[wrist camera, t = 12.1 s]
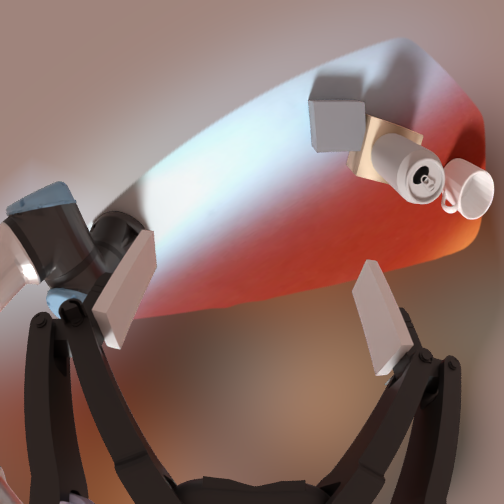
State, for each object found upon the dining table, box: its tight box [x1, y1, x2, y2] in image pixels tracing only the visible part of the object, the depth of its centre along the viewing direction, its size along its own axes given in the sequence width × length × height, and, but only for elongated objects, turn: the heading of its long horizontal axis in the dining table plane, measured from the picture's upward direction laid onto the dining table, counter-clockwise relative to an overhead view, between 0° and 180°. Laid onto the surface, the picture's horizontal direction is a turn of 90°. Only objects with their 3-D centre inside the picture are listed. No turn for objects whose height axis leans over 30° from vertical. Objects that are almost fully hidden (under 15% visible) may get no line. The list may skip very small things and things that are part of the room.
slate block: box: [308, 100, 366, 153], centre depth 38 cm, size 8×8×5 cm
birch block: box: [346, 114, 423, 184], centre depth 39 cm, size 10×10×6 cm
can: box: [371, 133, 445, 204], centre depth 32 cm, size 8×8×12 cm
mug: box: [441, 158, 494, 219], centre depth 40 cm, size 13×10×8 cm
